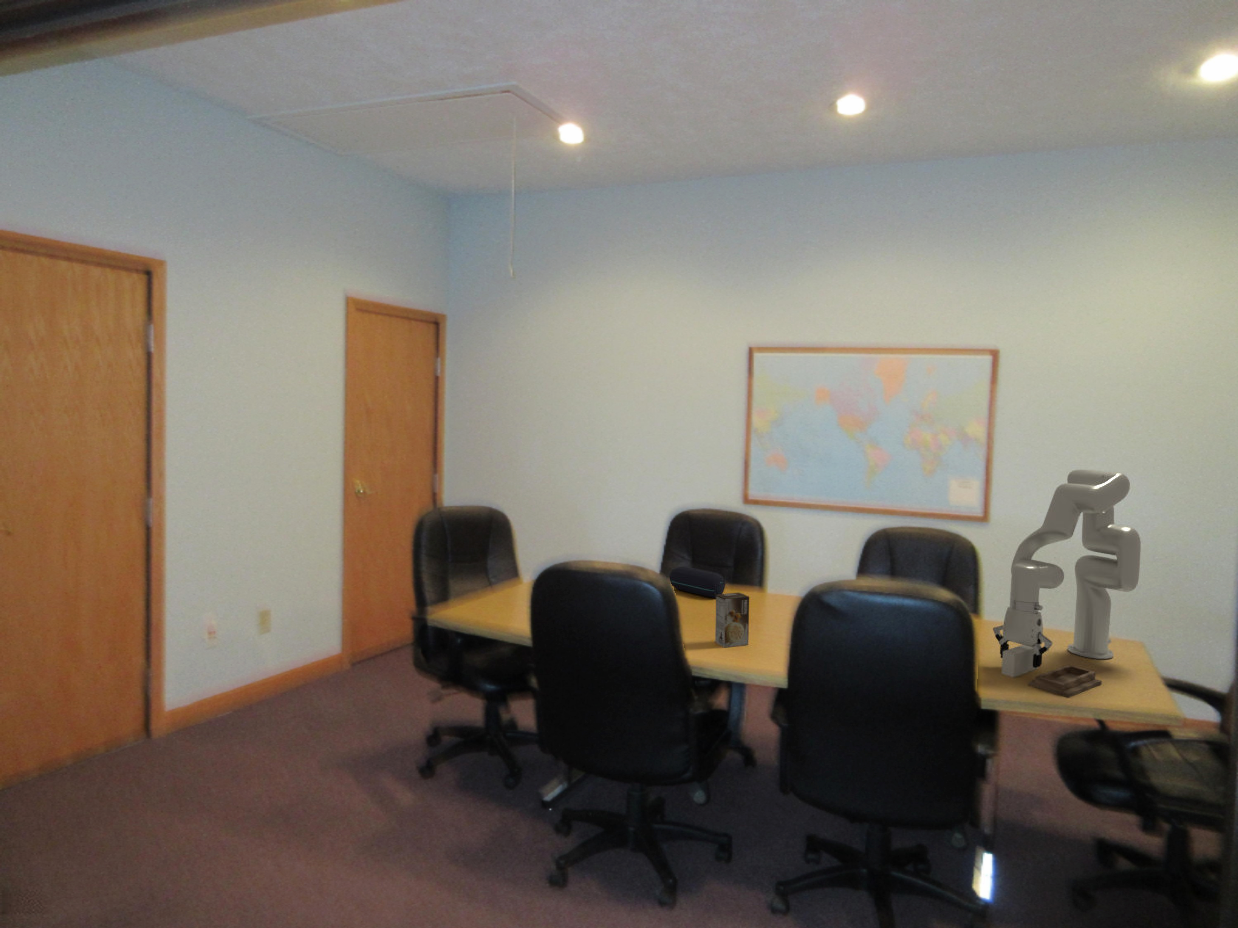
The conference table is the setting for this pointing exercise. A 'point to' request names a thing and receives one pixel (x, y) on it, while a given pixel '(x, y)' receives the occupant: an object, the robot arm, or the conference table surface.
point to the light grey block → (1017, 661)
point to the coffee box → (732, 619)
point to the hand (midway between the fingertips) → (1020, 662)
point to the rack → (1066, 681)
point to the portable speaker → (697, 581)
